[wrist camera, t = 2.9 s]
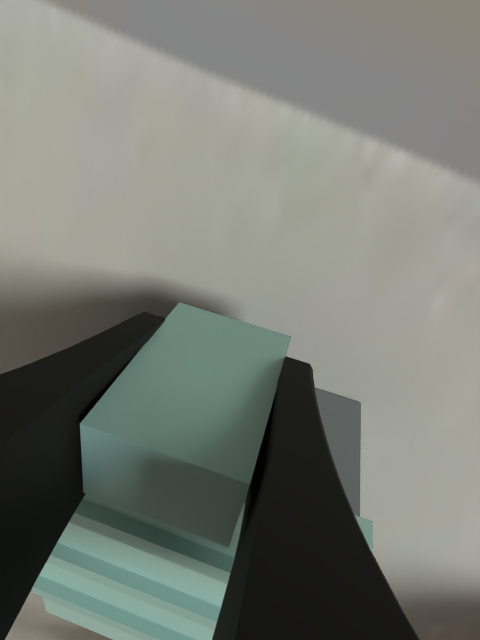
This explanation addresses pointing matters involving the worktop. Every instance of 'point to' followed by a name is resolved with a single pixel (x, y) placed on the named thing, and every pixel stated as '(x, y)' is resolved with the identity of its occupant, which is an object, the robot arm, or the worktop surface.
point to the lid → (167, 482)
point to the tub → (343, 440)
